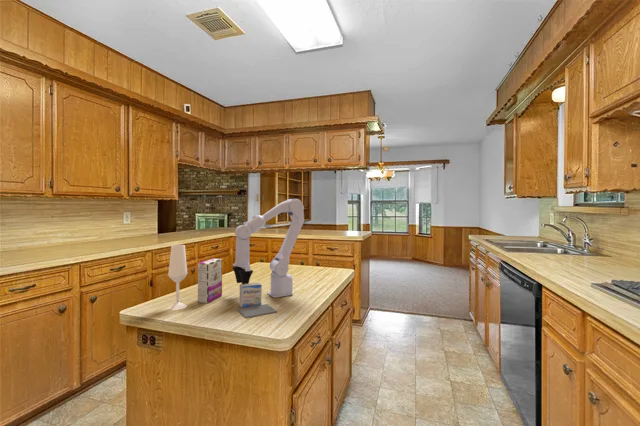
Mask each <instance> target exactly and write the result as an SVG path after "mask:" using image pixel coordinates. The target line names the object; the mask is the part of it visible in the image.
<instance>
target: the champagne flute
mask: <svg viewBox="0 0 640 426" xmlns="http://www.w3.org/2000/svg"><path fill="white" fill-rule="evenodd" d="M167 275H168V278H170V280H172V282H174V283H175V303H172V304H171V305H169V306H168V307H167V309H168V310H170V311H179V310H182V309H183V310H184V309H185V308H187V307H188V305H187V304H185V303H182V302H180V282H182V281H183V280H185V278H187V275H188V263H187V253H186V245H185V244H173V245H171V246H170V255H169V266H168V273H167Z"/></svg>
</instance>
